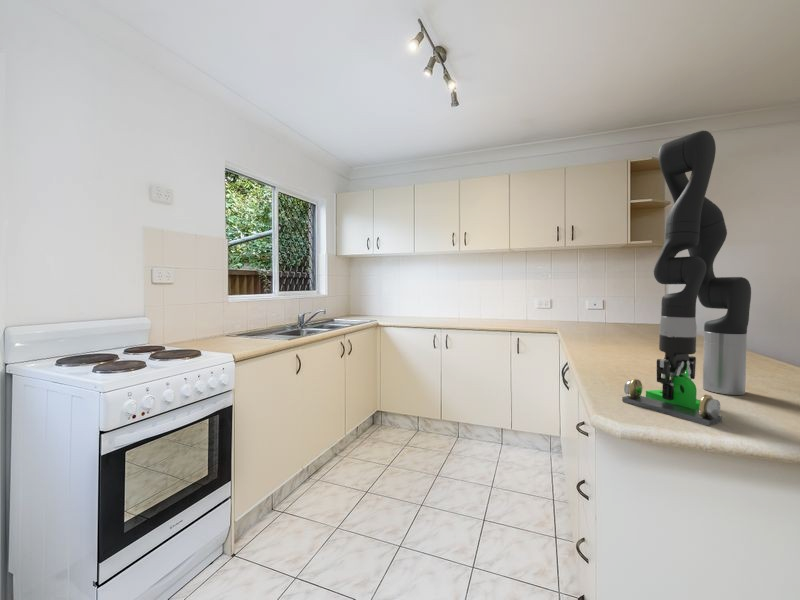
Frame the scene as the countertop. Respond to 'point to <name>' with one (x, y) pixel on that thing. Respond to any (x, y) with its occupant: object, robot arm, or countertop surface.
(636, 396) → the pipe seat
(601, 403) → the countertop surface
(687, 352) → the robot arm
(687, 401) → the mechanical part
